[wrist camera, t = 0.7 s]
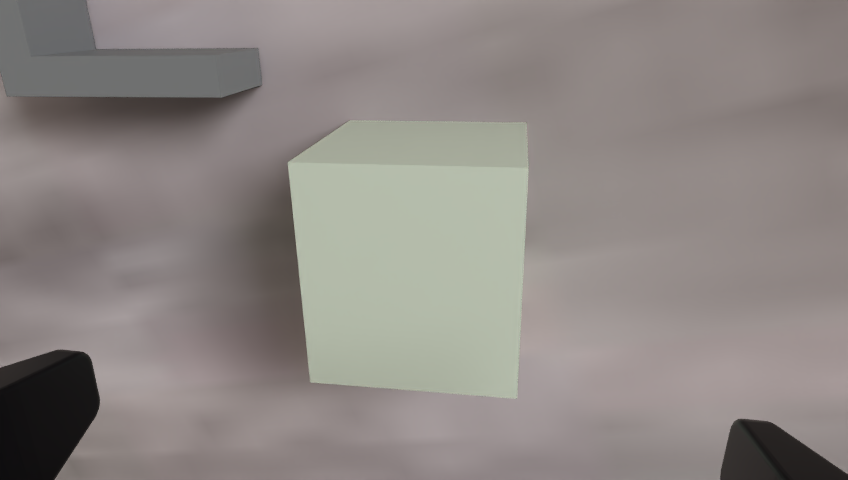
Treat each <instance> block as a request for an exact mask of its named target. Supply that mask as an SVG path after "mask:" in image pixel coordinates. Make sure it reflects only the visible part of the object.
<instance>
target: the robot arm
mask: <svg viewBox="0 0 848 480" xmlns="http://www.w3.org/2000/svg"><path fill="white" fill-rule="evenodd" d="M99 405H100V397H99V392H98V388H97V383H96V378H95V374H94V369H93V365H92V361H91V359H90V357H89V356H88V355H87V354H86V353H84V352H80V351H70V350H55V351H52V352H49V353H46V354H42V355H39V356H36V357H33V358H30V359H27V360H23V361H20V362H17V363H14V364H11V365H8V366H4V367H1V368H0V480H54V479H55V478H56V476H57V475H58V473H59V472H60V470H61V469H62V467H63V466H64V464H65V463H66V461H67V460H68V458H69V456H70V455H71V453H72V452H73V450H74V449H75V447H76V446H77V444H78V443H79V441H80V440H81V438H82V437H83V435H84V434H85V432H86V431H87V429H88V427H89V426H90V424H91V423H92V421H93V420H94V418H95V417H96V415H97V412H98V410H99ZM720 480H848V474H846V473H845V472H844V471H842V470H841V469H839V468H838V467H836V466H835V465H833V464H832V463H830V462H829V461H827V460H826V459H825V458H823V457H822V456H820V455H819V454H817V453H816V452H814V451H813V450H811V449H810V448H809V447H807V446H806V445H804V444H803V443H801V442H800V441H798V440H797V439H795V438H794V437H792V436H791V435H790V434H788V433H787V432H785V431H784V430H782V429H781V428H779V427H778V426H776V425H775V424H773V423H771V422H768V421H759V420H749V419H738V420H736V421H734V423H733V425H732V426H731V429H730V433H729V437H728V442H727V446H726V451H725V455H724V459H723V464H722V468H721V476H720Z"/></svg>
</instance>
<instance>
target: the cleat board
mask: <svg viewBox="0 0 848 480" xmlns="http://www.w3.org/2000/svg"><path fill="white" fill-rule="evenodd" d="M0 73H1V76H2V80H3V84H4V87H5V91H6V95H7V96H23V97H214V98H222V97H225V96H228V95H231V94H234V93H238V92H241V91H244V90H247V89H250V88H254V87H257V86H260V85H262V79H261V70H260V61H259V53H258V48H217V49H96V47H95V42H94V38H93V33H92V28H91V23H90V18H89V14H88V9H87V4H86V0H0Z"/></svg>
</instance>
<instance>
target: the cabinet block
mask: <svg viewBox="0 0 848 480" xmlns="http://www.w3.org/2000/svg"><path fill="white" fill-rule="evenodd" d="M288 170H289V180H290V190H291V200H292V209H293V219H294V229H295V239H296V248H297V258H298V268H299V278H300V288H301V297H302V307H303V317H304V327H305V336H306V346H307V356H308V366H309V376H310V383H323V384H336V385H348V386H361V387H374V388H386V389H399V390H412V391H425V392H437V393H450V394H463V395H476V396H488V397H501V398H514V399H517V390H518V370H519V349H520V329H521V309H522V289H523V269H524V248H525V228H526V208H527V188H528V145H527V123H520V122H435V121H348V122H347V123H345V124H344V125H342V126H341V127H339V128H338V129H336V130H335V131H333V132H332V133H330V134H329V135H328V136H326V137H325V138H323V139H322V140H320V141H319V142H317V143H316V144H314V145H313V146H311V147H310V148H308V149H307V150H305V151H304V152H302V153H301V154H299V155H298V156H296V157H295V158H294V159H292V160H291V161H289V162H288Z"/></svg>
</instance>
